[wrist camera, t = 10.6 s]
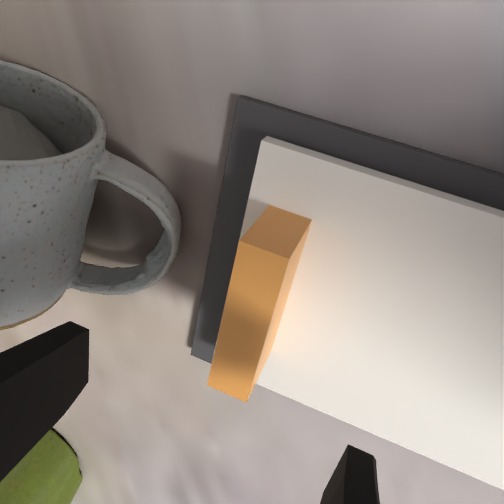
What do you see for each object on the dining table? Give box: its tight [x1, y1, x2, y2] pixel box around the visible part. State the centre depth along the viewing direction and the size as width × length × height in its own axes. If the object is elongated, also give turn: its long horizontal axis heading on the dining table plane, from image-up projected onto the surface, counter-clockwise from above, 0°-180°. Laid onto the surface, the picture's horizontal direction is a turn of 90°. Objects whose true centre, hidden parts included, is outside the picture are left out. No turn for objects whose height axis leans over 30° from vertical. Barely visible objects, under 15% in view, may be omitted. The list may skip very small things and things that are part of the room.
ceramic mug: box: [0, 60, 181, 330], centre depth 16 cm, size 11×8×8 cm
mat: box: [191, 95, 504, 364], centre depth 17 cm, size 17×12×1 cm
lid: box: [207, 136, 504, 490], centre depth 15 cm, size 14×10×4 cm
